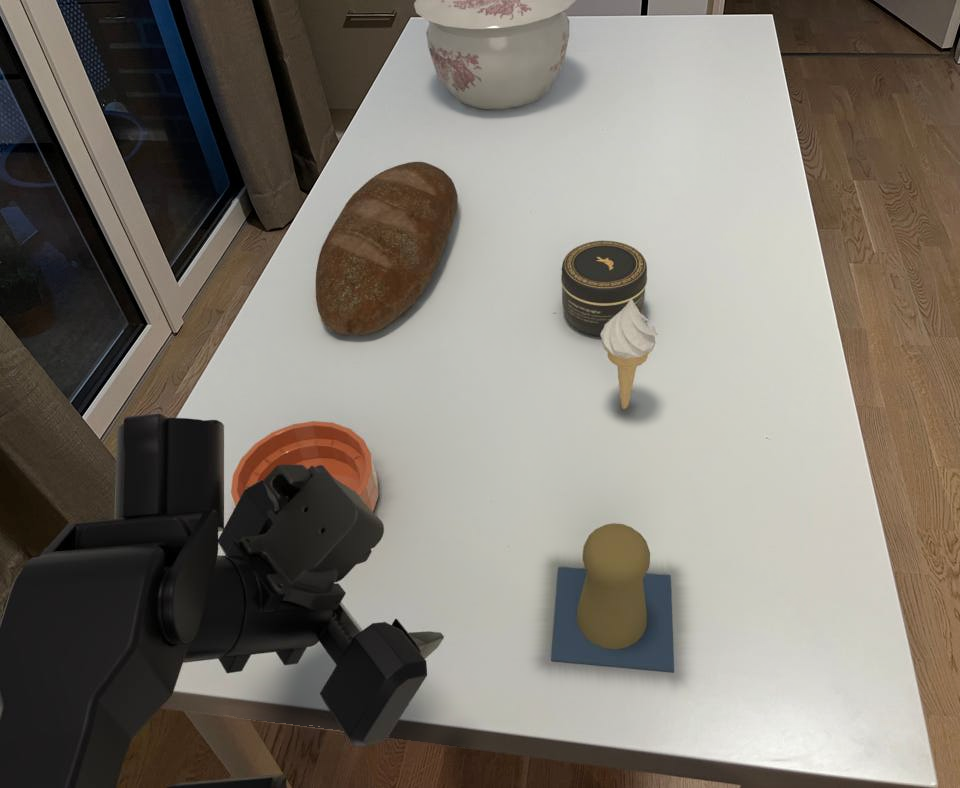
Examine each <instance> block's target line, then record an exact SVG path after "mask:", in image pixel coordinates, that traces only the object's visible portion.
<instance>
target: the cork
mask: <svg viewBox="0 0 960 788" xmlns="http://www.w3.org/2000/svg"><path fill="white" fill-rule="evenodd" d="M582 549H583V550H582V562H583V566H584V569H586V571H587V575H586V578H585V582H584V586H583V589H582V593H581V596H580V600H579V604H578V607H577V617H576V618H577V622H578V626H579V628H580V630H581V632H582V633H583V635H584V636H585V637H586V638H587V639H588V640H590V641H591V642H592V643H593V644H595V645H598V646H600V647H602V648H607V649H615V650H616V649H621V648H627V647H629V646H631V645H632V644H634V643H636V642H637V641H638V640H639V639H640V638H641V637H642V636H643V634H644V632H645V629H646V627H647V610H646V602H645V594H644V585H643V578H644V576H645V575H646V573H648V571H649V568H650V564H651V552H650V547H649V545H648V542H647V540H646V539H645V537H643V535H642V534H641V532H639V531H638V530H636V529H635V528H633V527H632V526H630V525H629V526H628V525H626V524H623V523H616V522H615V523H608V524H604V525H601V526H599V527H597V528H596V529H594V530H593V531H592V532H591V533H590V534H589V535H588V537H587V539H586V540H585V542H584V545H583V548H582Z"/></svg>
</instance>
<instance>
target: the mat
mask: <svg viewBox="0 0 960 788" xmlns="http://www.w3.org/2000/svg"><path fill="white" fill-rule="evenodd" d="M586 575H587V571H586V569H585V568H579V567H568V566H566V567H565V566H558V567H557V578H556V592H555V602H554V603H555V605H554V617H553V631H552V642H551V643H552V644H551V655H550V661H551V662H559V663H570V664H580V665H592V666H603V667H612V668H613V667H614V668H624V669H636V670H644V671H645V670H647V671H656V672H657V671H658V672H668V673H669V672H670V673H675V657H674V654H675V653H674V630H673V628H674V627H673V602H672V599H673V598H672V575H671V574H661V573H659V574H657V573H648V572H647V573H646V575H645V576H644V578H643V585H644V594H645V602H646V610H647V627H646V629H645V632H644V634H643V636H642V637H641V638H640V639H639V640H638V641H637V642H636V643H634V644H632V645H631V646H629V647H627V648H621V649H616V650H615V649H607V648H602V647H600V646H598V645H595V644H593V643H592V642H591V641H590V640H588V639H587V638H586V637H585V636H584V635H583V633H582V632H581V630H580V628H579V626H578V622H577V618H576V617H577V607H578V604H579V600H580V596H581V593H582V589H583V586H584V582H585V578H586Z"/></svg>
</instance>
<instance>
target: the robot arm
mask: <svg viewBox="0 0 960 788" xmlns="http://www.w3.org/2000/svg"><path fill="white" fill-rule="evenodd" d="M115 454H116V455H115V479H114V481H115V483H114V510H113V518H109V519H98V520H88V521H76V522H68V523H67V524H66V525H65V527H64V528H63V529H62V530H61V531H60V532H59V534H58V535H57V536H56V537H55V538H54V539H53V541H51V543H50V544H49V545H48V546H47V547H44V548H43V550H42V552H41V554H40V555H39V556H36V557H32V558H30V559H29V560H28V561H27V562H26V563H25V564H24V565H23V566H22V567H21V569H20V570H19V572H18V574H17V575H16V576H15V578H14V580H13V583H12V585H11V588H10V591H9V592H8V594H7V596H6V599H5V602H4V604H3V609H2V614H1V617H0V788H117V787H118V782H119V779H120V775H121V772H122V768H123V765H124V763H125V760H126V757H127V753H128V751H129V748H130V746H131V743H132V740H133V738H134V737H135V736H136V735H137V734H138V733H139V732H140V731H141V730H142V729H143V728H144V727H145V726H146V724H147V723H148V722H149V721H150V720H151V719H152V718H153V717H154V716H155V715H156V714H157V713H158V712H159V711H160V709H161V708H162V707H163V706H164V705H165V704H166V703H167V702H168V701H169V700H170V698H172V695H173V693H174V691H175V689H176V686H177V682H178V679H179V677H180V674H181V670H182V667H183V664H184V663H185V664H187V663H192V662H194V663H195V662H203V661H211V660H218V661H219V662H220V664H221V666H222V668H223V669H224V671H225V673H226V674H232V673H233V674H234V673H240V672H242V671H243V670H244V668H245V667H246V665H247V663H248V661H249V659H250V657H252V656H253V655H261V654H268V653H276V654H277V656H278V658H279V660H280V661H281V663H282V664H283V666H290V665H297V664H299V663H300V661H301V658H302V657H303V656H304V653H305V652H306V650H307V649H308V648H310V647H311V648H312V647H314V646H316V645H317V644H318V643H320V644H321V646H322V647H323V649H324V650H325V651H326V653H327V654H328V655H329V657H330V658H331V660H332V661H333V663H334V664H335V665H336V666H335V668H334V669H333V671H331V674H330V675H329V677H328V679H327V681H326V683H325V684H324V686H323V687H322V689H321V690H320V692H319V694H320V697H321V699H322V700H323V703H324V705H325V706H326V708H327V709H328V710H329V712H330V713H331V715H332V716H333V718H334V719H335V721H336V722H337V723H338V726H339V727H340V728H341V729H342V731H343V733H344V734H345V736H346V737H347V738H348V741H350V743H351V744H352V746H353V747H364V746H365V747H367V746H371V745H374V744H378V743H383V742H385V741H387V739H388V738H389V736H390V734H391V733H392V732H393V730H394V729H395V726H396V725H397V724H398V722H399V720H400V719H401V717H402V716H403V714H404V713H405V711H406V710H407V708H408V706H409V705H410V703H411V702H412V700H413V699H414V697H415V695H416V694H417V692H418V691H419V690H420V687H421V686H422V684H423V683H424V681H425V680H426V678H427V677H428V667H427V666H428V665H427V660H426V659H427V658H428V657H429V656H430V655H431V654H433V653H434V652H435V651H436V650H437V649H438V648H439V646H440V645H441V643H442V642H443V640H444V638H445V635H444V634H443V633H442V632H439V631H429V630H427V631H414V632H413V631H411V632H410V631H409V632H408V630H406V628H405V627H404V626H403V625H402V623H401V622H400V621H399V619H398V618H395V619H394V620H393V622H392V623H391V624H390V623H388V622H386V621H382V622H373V623H372V622H371V624H370V625H368V626H367V627H365V628H364V629H363V628H362V627H361V625H360V624H359V623H358V621H357V620H356V619H355V618H354V617H353V615H352V614H351V612H350V611H349V610H348V609H347V608H346V606H345V605H344V603H343V602H342V601H343V599H344V598H345V596H346V594H347V592H346V591H345V590H344V588H343V587H342V586H341V585H340V583H339V582H340V581H341V580H344V578H345V577H346V576H347V575H348V574H349V573H350V572H351V571H352V570H353V569H354V567H356V566H357V565H359V564H363V563H365V562H367V561H368V559H369V558H370V555H371V554H372V552H373V551H372V549H374V548H375V547H377V545H379V543H380V542H381V540H382V538H383V536H384V533H385V526H384V525H385V524H384V523H383V520H381V518H380V517H379V516H378V515H376V514H375V513H374V511H373V512H372V510H371V509H370V508H369V507H368V506H367V505H366V504H365V503H364V501H363V500H362V499H361V498H360V496H359V495H358V494H357V493H356V492H355V491H354V490H352V489H350V488H349V487H347V486H346V485H344V484H343V483H341V482H339V481H338V480H336V479H335V478H334V477H333V476H332V475H331V474H330V473H329V472H328V471H327V470H326V468H325V467H324V466H323V465H318V466H316V467H314V466H311V467H310V468H309V469H308V468H307V467H305V466H303V465H277V466H276V467H275V468H274V469H273V470H272V471H271V472H270V473H269V475H268V476H267V477H266V478H265V479H264V480H261V481H259V482H257V483H255V484H253V485H251V486H250V487H248V488H246V489H245V490H244V492H243V494H242V496H241V498H240V500H239V501H238V503H237V505H236V506H235V507H234V508H233V511H232V512H231V515H230V516H229V518H228V520H227V522H226V524H225V424H224V423H223V422H221V421H220V420H218V419H205V420H203V419H197V418H187V417H167V416H165V415H164V414H161V413H155V414H154V413H151V414H142V415H130V416H125V417H124V419H123V424H121V425H119V426H118V428H116V453H115ZM219 532H221V533H220V535H219ZM219 547H220V548H221V550H222V552H223V554H224V555H223V554H222V555H221V554H220V555H218V554H219ZM287 786H288V785H287V777H286V775H285V774H284V773H281V774H279V773H278V774H267V775H257V776H256V775H255V776H243V777H242V776H241V777H233V778H231V777H230V778H221V779H219V778H218V779H208V780H197V781H196V780H195V781H184V782H179V783H177V784H174V785H167V786H166V787H165V788H288V787H287Z"/></svg>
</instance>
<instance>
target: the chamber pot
mask: <svg viewBox="0 0 960 788" xmlns="http://www.w3.org/2000/svg"><path fill="white" fill-rule="evenodd" d="M576 1H577V0H415V1H414V2H413V3H414V4H413V6H414V9H415V12H416V14H417V15H419V16H420V17H421V18H423V19H424V20H426V21H427V22H429V24H428V26H427V29H426V32H425V34H426V42H427V48H428V51H429V55H430V57H431V61H432V64H433V67H434V70H435V73H436V76H437V77H438V79H439V80H440V81H441V83H442V84H443V85H444V86H445V88H446V89H447V91H448V92H449V93H450V94H451V95H452V96H453V97H455V98H456V99H457V100H458V101H460V102H461V104H464V105H467V106H469V107H471V108H477V109H484V110H505V109H511V108H512V109H513V108H518V107H521V106H525V105H528V104H531V103H533V102H534V101H536V100H538V99H541V98H542V97H543V96H544V95H545V94H546V93H547V92H548V90H550V89H551V88H552V86H553V85H554V83H555V81H556V80H557V78H558V76H559V74H560V73H561V72H562V69H563V68H564V65H565V61H566V54H567V49H568V46H569V45H568V44H569V39H570V19H569V17H568V15H567V14H566V10H568V9H569V8H570V7H571V6H572V5H573V4H574V3H575V2H576Z"/></svg>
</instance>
